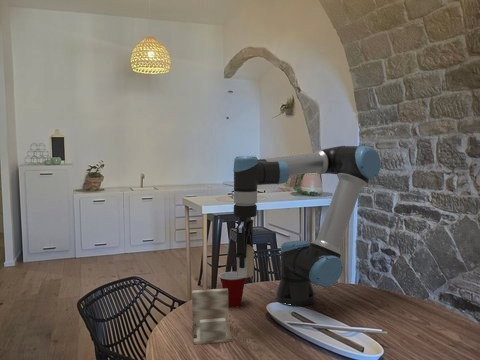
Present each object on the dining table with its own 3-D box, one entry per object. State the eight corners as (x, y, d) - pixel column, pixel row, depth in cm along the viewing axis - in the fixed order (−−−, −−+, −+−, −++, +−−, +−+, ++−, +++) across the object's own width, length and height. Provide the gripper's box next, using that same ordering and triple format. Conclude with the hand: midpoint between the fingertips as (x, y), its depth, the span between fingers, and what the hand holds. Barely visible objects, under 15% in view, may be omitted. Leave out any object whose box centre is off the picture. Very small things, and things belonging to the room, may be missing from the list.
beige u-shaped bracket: (227, 324, 141) (227, 288, 140) (232, 341, 129) (231, 301, 128) (192, 326, 139) (192, 290, 138) (193, 344, 128) (193, 304, 126)
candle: (247, 278, 131) (248, 247, 130) (233, 275, 134) (233, 245, 133) (256, 274, 135) (257, 244, 134) (242, 271, 138) (243, 242, 138)
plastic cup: (244, 297, 165) (243, 268, 164) (250, 308, 154) (249, 277, 153) (217, 300, 163) (216, 270, 162) (221, 311, 152) (221, 279, 151)
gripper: (241, 199, 142) (240, 265, 144) (226, 207, 125) (225, 282, 127) (262, 200, 141) (261, 266, 143) (250, 208, 123) (249, 284, 125)
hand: (244, 274), depth 135 cm, fingers closed on candle, 5 cm apart
